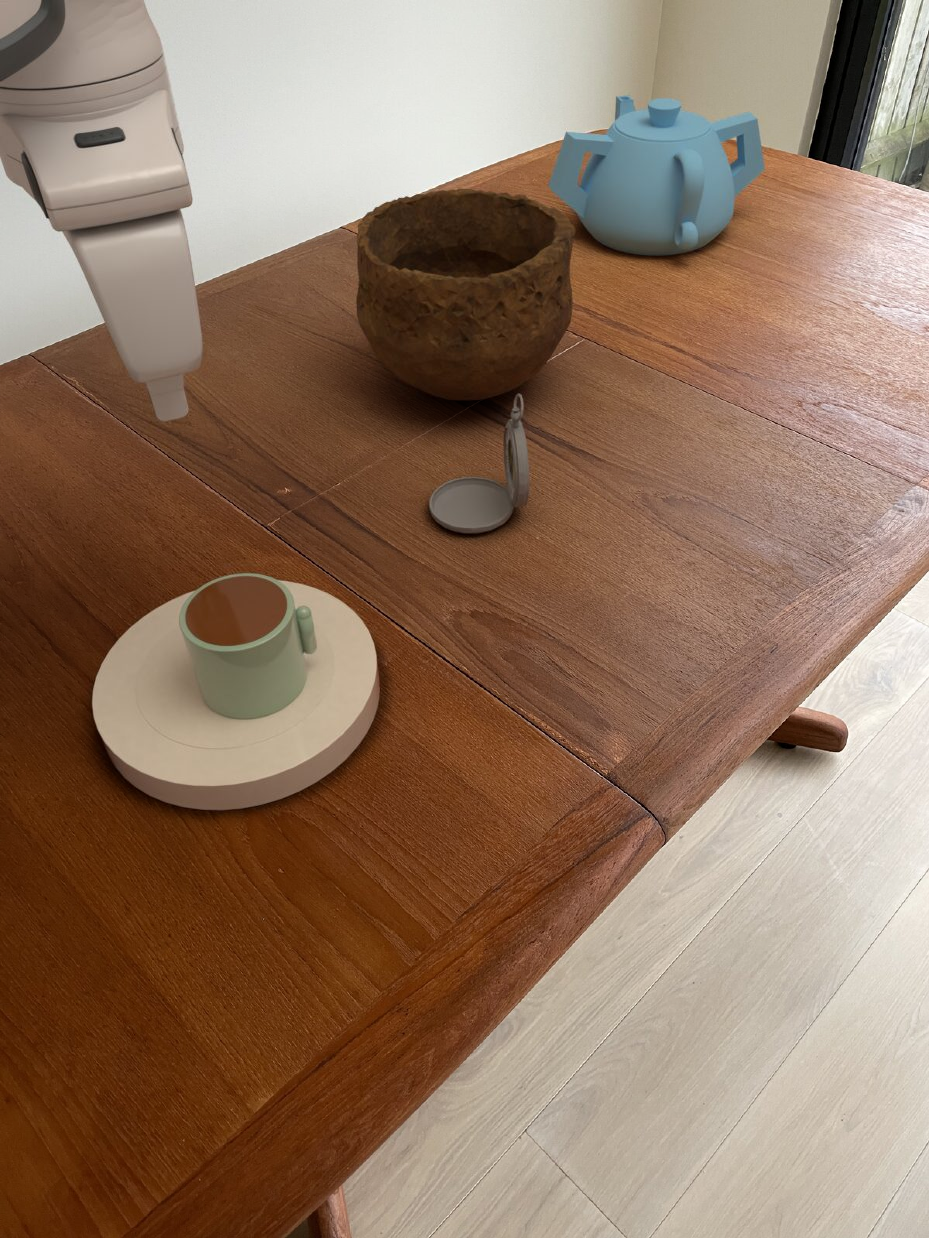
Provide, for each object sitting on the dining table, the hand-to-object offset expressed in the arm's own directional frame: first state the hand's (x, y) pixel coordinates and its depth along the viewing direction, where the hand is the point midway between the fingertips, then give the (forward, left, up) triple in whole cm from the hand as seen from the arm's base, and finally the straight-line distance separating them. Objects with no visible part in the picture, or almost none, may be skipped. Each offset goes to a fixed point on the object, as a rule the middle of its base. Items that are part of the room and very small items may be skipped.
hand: (155, 374), depth 60 cm
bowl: (+26, +24, -19) cm, 40 cm away
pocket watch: (+22, +5, -19) cm, 29 cm away
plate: (+1, -9, -19) cm, 21 cm away
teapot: (+56, +51, -19) cm, 78 cm away
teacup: (+2, -10, -17) cm, 19 cm away
